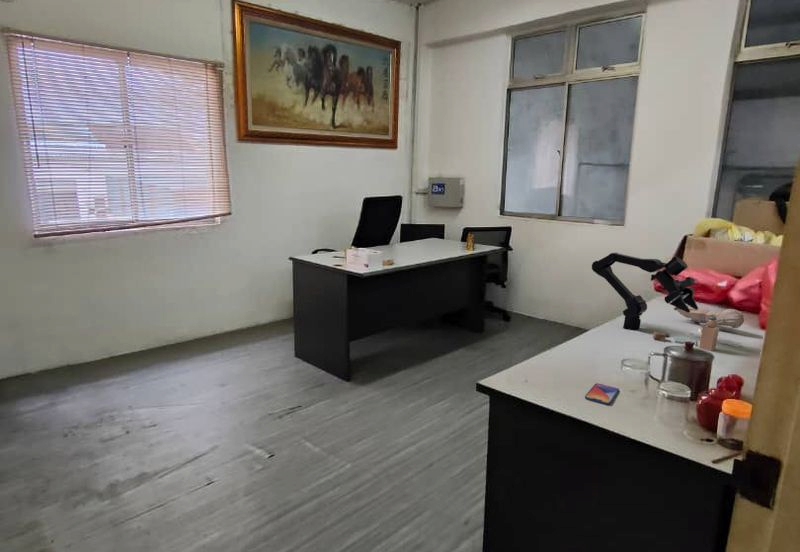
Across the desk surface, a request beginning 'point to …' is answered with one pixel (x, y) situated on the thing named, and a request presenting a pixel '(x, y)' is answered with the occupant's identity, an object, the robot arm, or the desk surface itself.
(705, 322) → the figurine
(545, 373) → the desk surface
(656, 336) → the walnut block
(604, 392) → the smartphone
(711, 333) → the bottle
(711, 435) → the desk surface
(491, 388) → the desk surface
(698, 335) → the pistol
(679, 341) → the mat
